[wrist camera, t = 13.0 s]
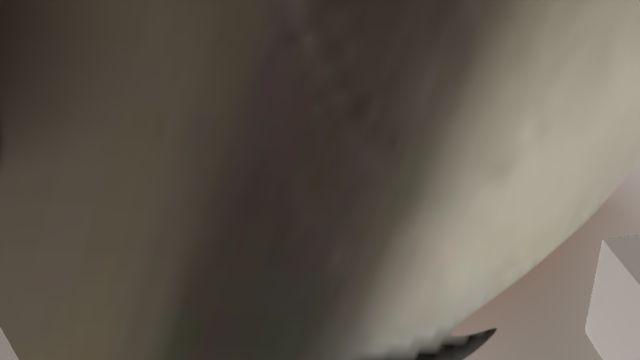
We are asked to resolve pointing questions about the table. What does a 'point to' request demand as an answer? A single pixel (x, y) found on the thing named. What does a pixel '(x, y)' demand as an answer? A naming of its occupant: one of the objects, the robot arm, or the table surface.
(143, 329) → the table surface
